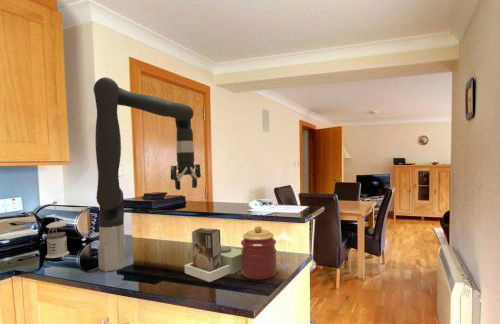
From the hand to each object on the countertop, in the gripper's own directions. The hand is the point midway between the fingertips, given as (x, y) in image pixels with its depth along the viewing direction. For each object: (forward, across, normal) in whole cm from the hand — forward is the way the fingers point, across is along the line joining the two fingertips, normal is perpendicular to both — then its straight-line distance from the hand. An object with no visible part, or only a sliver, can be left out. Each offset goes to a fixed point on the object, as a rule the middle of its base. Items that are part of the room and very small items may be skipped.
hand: (186, 188), depth 139 cm
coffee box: (+30, +8, +22) cm, 38 cm away
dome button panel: (+30, +4, +22) cm, 37 cm away
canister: (+30, -4, +38) cm, 48 cm away
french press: (+30, +36, -53) cm, 71 cm away
